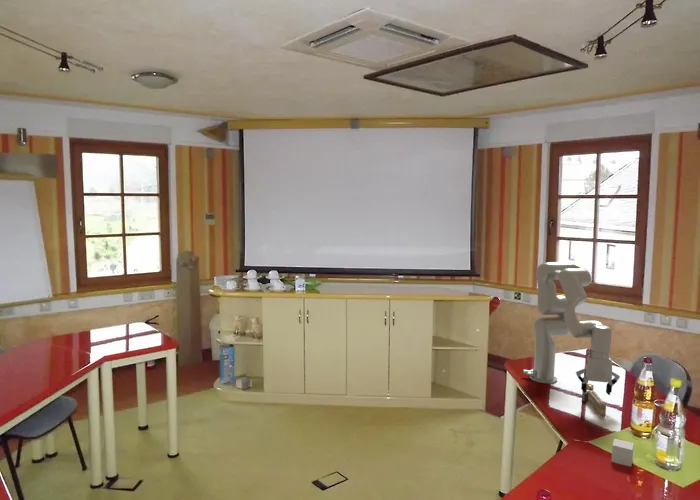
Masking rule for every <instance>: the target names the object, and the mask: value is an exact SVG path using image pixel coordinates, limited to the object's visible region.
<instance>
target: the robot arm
mask: <svg viewBox="0 0 700 500" xmlns="http://www.w3.org/2000/svg"><path fill="white" fill-rule="evenodd" d="M535 278H536V282H537V283H536V284H537V311H538V313H540V314H541V315H544V316H545V315H546V316H547V317H544V316H543V317H539V318H537V319H536V320H535V321H534V322H533V323H534V324H533V328H534V329H533V330H534V340H535V341H534V358H533V360H534V361H533V362H534V363H533V367H532V369H530V370H528V369H523V374H526V375H527V376H529V378H530V379H531V380H532V381H534V382H537V383H541V384H556V383H558V378H557V377H556V376H555V366H556V365H555V363H556V343H555V342H554V340H553V338H554V337H565V336H568V335H569V334H570V335H571V336H572V337H573V338H576V339H590V346H589V347H590V348H589V350H586V352H585V354H586V355H587V357H586V361H585V364H584V368H583V369H579V370H577V371H576V372H575V374H576V376H577V378H578V380H579V381H580V382H581V386H580V388H581V389H580V390H582V393H583V392H584V393H586V391H587V389H586V388H587V384H588V383H587V382H598V383H606V388H605V389H606V390H605V393H606V394H607V395H608V396H611V393H612V391H613V390H612V389H613V386H614V385H615V384H616V383H618V381H619V379H620V378H621V376H620V375H619V374H618V373H616V372H614V371H613V362H612V358H611V357H610V354H611V353H610V352H611V342H612V333H613V331H612V328H611V327H610V326H608V325H604V324H603V323H602V322H600V321H599V320H595V319H592V320H589V319H586V320H579V319H578V318H577V315H576V308H577V307H579V306H580V305H582V304H583V303H585V302H586V301H587V300H588V296H587V293H586V290H585V289H584V287H588V286H590V285H591V282H592V276H591V273H590V271H589V270H588V269H586V268H585V267H582V266H581V265H578V264H576V263H574V262H570V261H550V262H549V261H547V262H543V263H539V265H538V266H537V268H536V271H535ZM554 280H558V281H559V284H560V287H561V288H562V292H563V294H564V295H562V294H561V295H558V294H557V286H556V284H555V282H554ZM552 315H553V316H552ZM554 315H555V316H554ZM581 375H584V376H583V377H582V376H581Z"/></svg>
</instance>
